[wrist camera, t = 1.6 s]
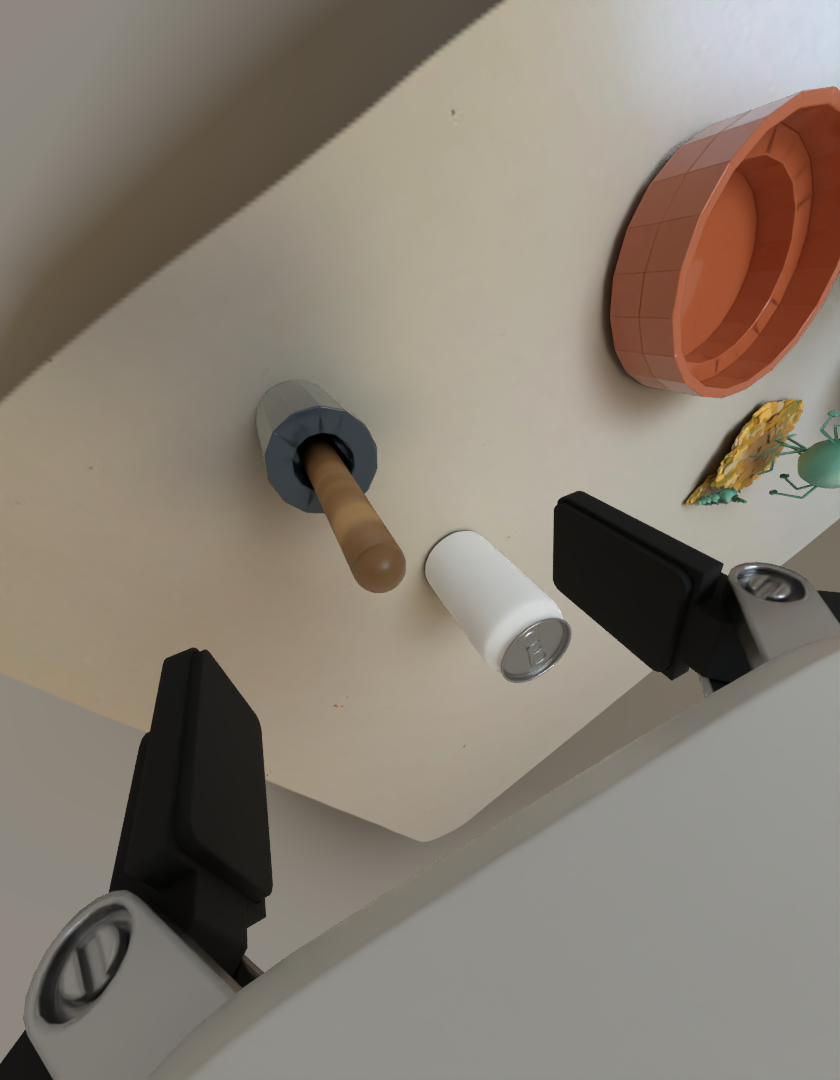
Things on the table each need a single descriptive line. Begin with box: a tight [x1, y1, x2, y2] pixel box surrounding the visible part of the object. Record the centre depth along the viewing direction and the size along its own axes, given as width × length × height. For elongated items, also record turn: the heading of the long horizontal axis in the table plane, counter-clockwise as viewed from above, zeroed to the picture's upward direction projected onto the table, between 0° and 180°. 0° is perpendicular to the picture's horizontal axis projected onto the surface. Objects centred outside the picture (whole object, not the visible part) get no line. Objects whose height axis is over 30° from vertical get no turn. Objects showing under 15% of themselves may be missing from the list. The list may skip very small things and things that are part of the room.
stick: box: [297, 433, 406, 593], centre depth 18 cm, size 2×2×16 cm
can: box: [425, 531, 571, 683], centre depth 31 cm, size 6×6×12 cm
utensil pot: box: [256, 380, 377, 513], centre depth 22 cm, size 5×5×8 cm
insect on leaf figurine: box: [685, 399, 840, 506], centre depth 40 cm, size 10×18×15 cm, turn 116°
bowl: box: [610, 87, 840, 398], centre depth 28 cm, size 16×16×6 cm
